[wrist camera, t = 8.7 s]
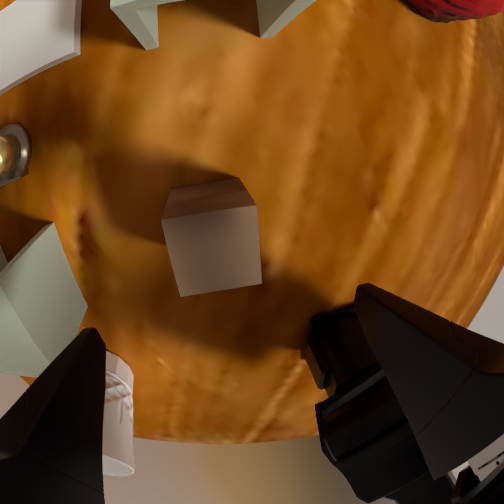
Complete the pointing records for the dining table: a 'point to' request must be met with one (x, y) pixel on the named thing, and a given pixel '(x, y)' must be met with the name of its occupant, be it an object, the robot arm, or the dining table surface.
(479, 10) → the red clay folk toy
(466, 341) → the robot arm
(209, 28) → the dining table surface
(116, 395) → the white cup
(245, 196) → the walnut block
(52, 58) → the grey ceramic tile
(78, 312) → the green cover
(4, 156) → the bronze balance
